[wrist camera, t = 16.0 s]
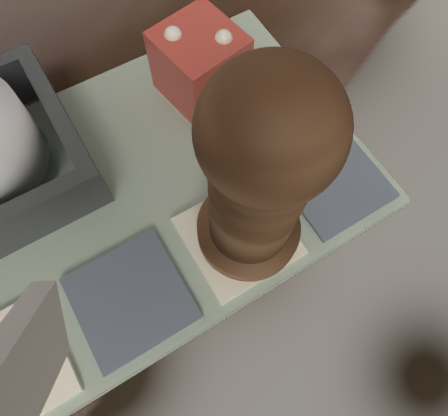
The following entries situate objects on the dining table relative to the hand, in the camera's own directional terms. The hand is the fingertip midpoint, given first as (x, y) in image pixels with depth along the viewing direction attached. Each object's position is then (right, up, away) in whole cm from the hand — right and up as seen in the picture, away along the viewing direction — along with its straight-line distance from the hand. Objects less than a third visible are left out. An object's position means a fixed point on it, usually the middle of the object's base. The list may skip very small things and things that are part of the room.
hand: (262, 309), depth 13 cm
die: (-3, +10, +11) cm, 15 cm away
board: (-6, +4, +9) cm, 11 cm away
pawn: (0, +2, +7) cm, 7 cm away
